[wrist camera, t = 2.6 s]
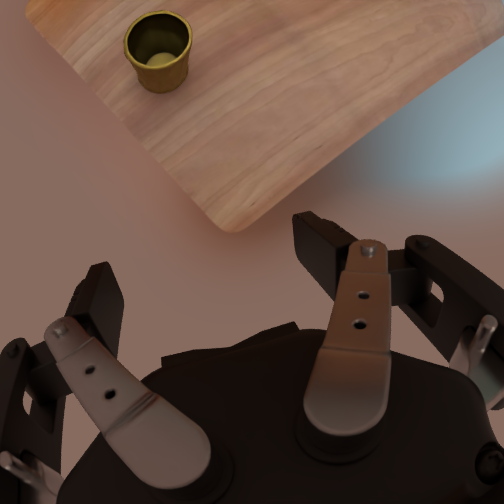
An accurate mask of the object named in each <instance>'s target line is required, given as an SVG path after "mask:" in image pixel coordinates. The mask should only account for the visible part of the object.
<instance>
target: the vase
mask: <svg viewBox="0 0 504 504" xmlns="http://www.w3.org/2000/svg"><path fill="white" fill-rule="evenodd" d="M123 43H124V54H125V56H126V58H127V59H128V60H129V61H130V62H131V64H132V66H133V67H134V69H135V70H136V72H137V74H138V80H139V82H140V83H141V84H142V86H143V87H144V88H145V89H147V90H149V91H151V92H154V93H167V92H170V91H173V90H175V89H176V88H178V87H179V86H180V85H181V84H182V83H183V82H184V80H185V79H186V77H187V74H188V58H189V53H190V49H191V45H192V29H191V27H190V25H189V23H188V22H187V21H186V20H185V19H184V18H183V17H181V16H180V15H178V14H176V13H174V12H170V11H166V10H160V11H154V12H149V13H146V14H144V15H142V16H140V17H139V18H138V19H136V20H135V21H134V22H133V23H132V24H131V25H130V27H129V28H128V30H127V32H126V34H125V37H124V40H123Z"/></svg>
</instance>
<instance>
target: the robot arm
mask: <svg viewBox="0 0 504 504" xmlns="http://www.w3.org/2000/svg"><path fill="white" fill-rule="evenodd" d="M292 223H293V234H294V246H295V252H296V255H297V258H298V260H299V261H300V263H301V264H302V265H303V266H304V267H305V268H306V269H307V271H308V272H309V273H310V274H311V275H312V276H313V278H314V279H315V280H316V281H317V282H318V283H319V285H320V286H321V287H322V288H323V289H324V290H325V291H326V293H327V294H328V295H329V296H330V297H331V299H332V300H333V301H334V305H333V309H332V313H331V317H330V321H329V324H328V328H327V330H321V329H302V330H299V328H298V327H297V325H296V323H295V322H290V323H287V324H283V325H280V326H277V327H274V328H271V329H268V330H264V331H261V332H259V333H257V334H255V335H254V336H251V337H249V338H248V339H246V340H243V341H242V342H239V343H238V344H235V345H234V346H231V347H226V348H212V349H196V350H190V351H186V352H182V353H177V354H173V355H169V356H164V357H161V365H162V367H161V368H159V369H157V370H155V371H153V372H152V373H150V374H149V375H147V376H146V377H144V378H143V379H142V380H141V381H139V380H138V379H137V378H136V377H135V376H133V375H132V374H131V373H130V372H129V371H128V370H127V369H126V368H125V367H124V366H123V365H122V364H121V363H120V362H119V361H118V360H117V354H118V346H119V338H120V330H121V323H122V317H123V310H124V299H123V295H122V292H121V290H120V288H119V285H118V283H117V281H116V278H115V276H114V273H113V271H112V268H111V266H110V264H109V263H108V262H107V261H106V262H102V263H99V264H95V265H91V267H90V269H89V271H88V273H87V276H86V278H85V279H83V280H82V281H81V283H80V284H79V285H78V286H77V287H76V289H75V291H74V294H73V296H72V298H71V302H70V303H69V306H68V308H67V311H66V313H65V316H64V317H62V318H59V319H57V320H56V321H54V322H53V323H52V324H50V325H49V327H48V328H47V329H46V331H45V333H44V339H45V341H43V342H41V343H39V344H36V345H34V346H32V347H30V345H29V344H28V343H27V341H26V340H25V339H24V338H17V339H14V340H12V341H11V342H9V343H8V344H7V345H6V346H5V347H4V349H3V350H2V352H1V354H0V504H504V448H502V446H500V444H499V443H498V441H497V439H496V437H495V435H494V433H493V430H492V428H491V425H490V422H489V418H488V415H487V412H488V411H489V410H499V409H502V408H504V289H502V288H501V287H500V286H499V285H497V284H496V283H495V282H493V281H492V280H491V279H490V278H488V277H487V276H486V275H484V274H483V273H482V272H480V271H479V270H478V269H476V268H475V267H474V266H472V265H471V264H470V263H468V262H467V261H465V260H464V259H463V258H461V257H460V256H458V255H457V254H455V253H454V252H453V251H451V250H450V249H448V248H447V247H445V246H444V245H442V244H441V243H439V242H438V241H436V240H435V239H433V238H431V237H428V236H424V235H412V236H409V237H408V238H407V239H406V240H405V248H404V249H400V250H390V251H388V250H387V247H386V245H385V244H383V243H381V242H379V241H376V240H371V239H363V240H358V239H357V238H355V237H354V236H353V235H351V234H350V233H349V232H347V231H345V230H344V229H343V228H340V226H339V225H337V224H336V223H334V222H333V221H329V220H326V219H321V218H320V217H318V216H317V215H315V214H314V213H313V212H311V211H307V212H302V213H298V214H294V215H293V218H292ZM433 281H434V282H435V283H436V284H437V285H439V287H440V288H441V289H442V291H443V295H444V300H443V303H442V302H441V301H440V300H439V299H438V298H437V297H436V296H434V295H433V294H432V293H431V288H432V283H433ZM397 305H398V306H399V308H400V309H401V310H402V311H403V312H404V313H405V314H406V315H407V316H408V317H409V318H410V320H411V321H412V322H413V323H414V324H415V325H416V326H417V327H418V328H419V329H420V330H421V332H422V333H423V334H424V335H425V336H426V337H427V338H428V339H429V340H430V342H431V343H432V344H433V345H434V346H435V347H436V348H437V350H438V351H439V352H440V353H441V354H442V355H443V357H444V358H445V359H446V360H447V361H448V362H449V368H448V367H444V366H441V365H437V364H434V363H430V362H427V361H424V360H420V359H416V358H414V357H410V356H407V355H403V354H400V353H397V352H394V351H391V350H390V339H391V338H390V337H391V306H397ZM25 391H26V392H27V393H28V394H29V395H30V396H31V398H32V399H33V400H32V404H31V409H30V414H29V415H28V414H27V413H26V411H25V410H24V406H23V396H24V392H25ZM71 393H74V395H75V396H76V398H77V399H78V401H79V402H80V404H81V405H82V407H83V408H84V409H85V411H86V412H87V413H88V415H89V416H90V418H91V419H92V421H93V422H94V423H95V425H96V426H97V427H98V429H99V430H100V433H99V434H98V435H97V437H96V438H95V440H94V441H93V442H92V444H91V445H90V446H89V448H88V449H87V450H86V452H85V453H84V454H83V456H82V457H81V458H80V460H79V461H78V462H77V464H76V465H75V466H74V468H73V469H72V470H71V472H70V473H69V475H68V476H67V477H66V479H65V480H64V479H63V478H62V476H61V445H62V431H63V419H64V409H65V401H66V395H69V394H71Z"/></svg>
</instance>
